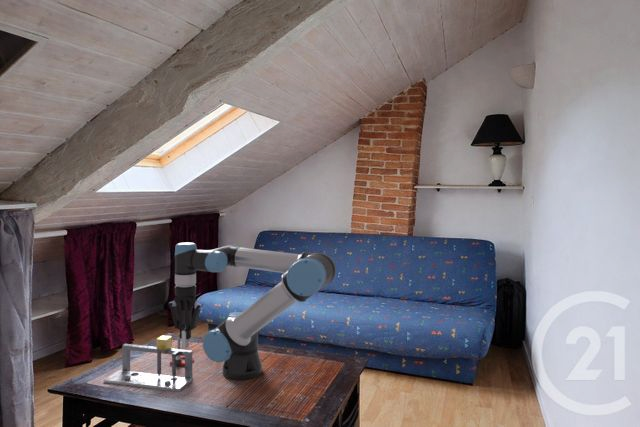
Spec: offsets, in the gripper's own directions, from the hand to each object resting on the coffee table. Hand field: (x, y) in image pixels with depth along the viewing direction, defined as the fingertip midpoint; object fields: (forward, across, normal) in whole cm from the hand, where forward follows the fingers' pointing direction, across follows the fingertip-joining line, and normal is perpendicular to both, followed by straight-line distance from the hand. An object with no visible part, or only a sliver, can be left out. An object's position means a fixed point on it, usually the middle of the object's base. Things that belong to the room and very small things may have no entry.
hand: (185, 347), depth 173 cm
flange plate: (+12, +12, +6) cm, 18 cm away
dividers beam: (+12, +12, +2) cm, 17 cm away
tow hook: (+12, +9, -14) cm, 21 cm away
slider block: (+11, +9, +1) cm, 14 cm away
